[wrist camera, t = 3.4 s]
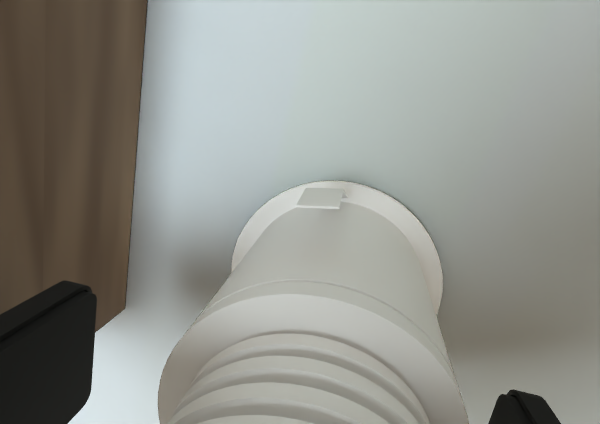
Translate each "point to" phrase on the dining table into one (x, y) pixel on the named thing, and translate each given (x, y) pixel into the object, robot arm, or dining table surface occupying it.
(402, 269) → the downlight
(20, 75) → the walnut stand
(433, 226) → the dining table surface
